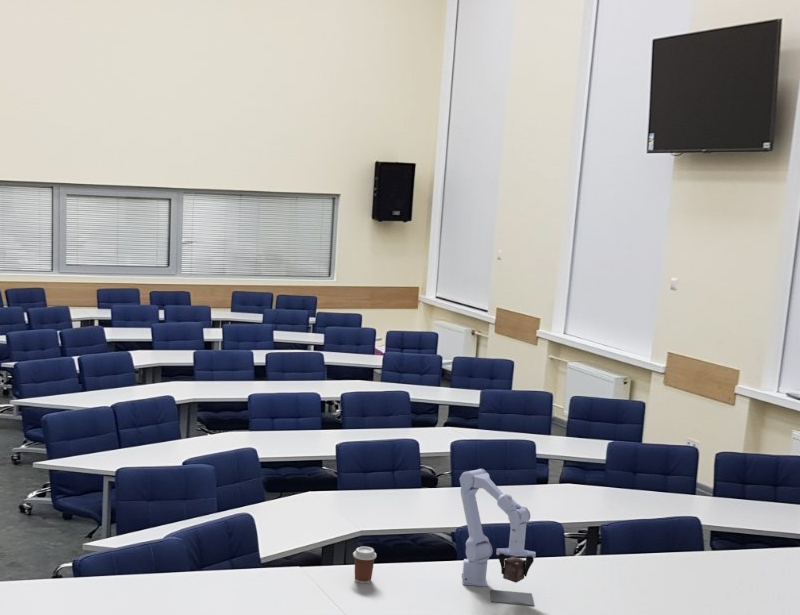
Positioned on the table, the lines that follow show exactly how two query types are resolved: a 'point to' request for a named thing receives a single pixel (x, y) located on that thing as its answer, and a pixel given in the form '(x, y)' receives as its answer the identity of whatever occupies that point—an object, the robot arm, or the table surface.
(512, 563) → the box
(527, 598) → the desk mat
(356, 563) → the coffee cup
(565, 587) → the table surface
